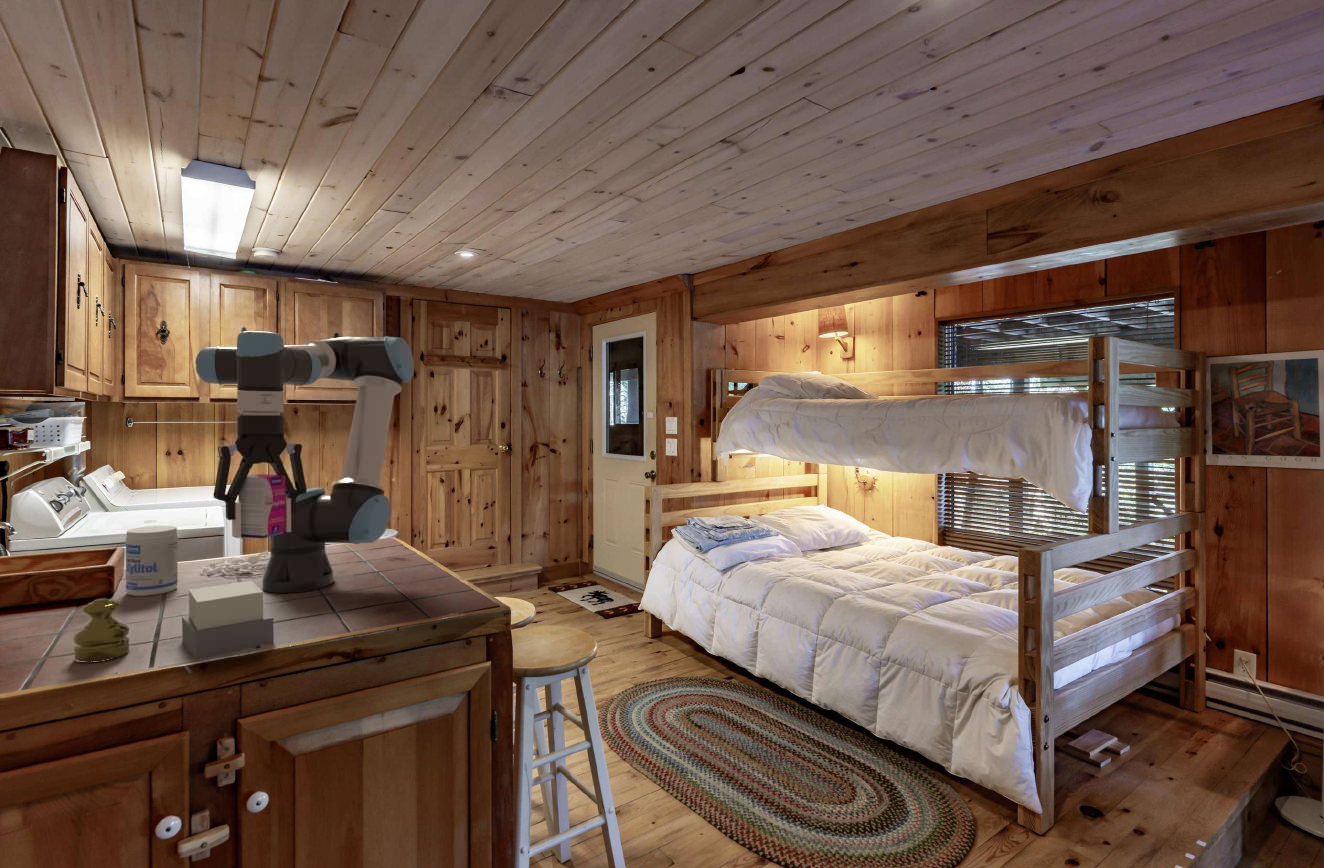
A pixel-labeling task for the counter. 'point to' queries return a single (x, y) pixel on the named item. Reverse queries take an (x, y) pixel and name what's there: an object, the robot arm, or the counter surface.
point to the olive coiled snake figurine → (101, 633)
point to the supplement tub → (151, 560)
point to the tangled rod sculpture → (237, 565)
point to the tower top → (225, 604)
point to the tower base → (227, 636)
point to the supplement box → (263, 506)
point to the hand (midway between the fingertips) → (262, 533)
